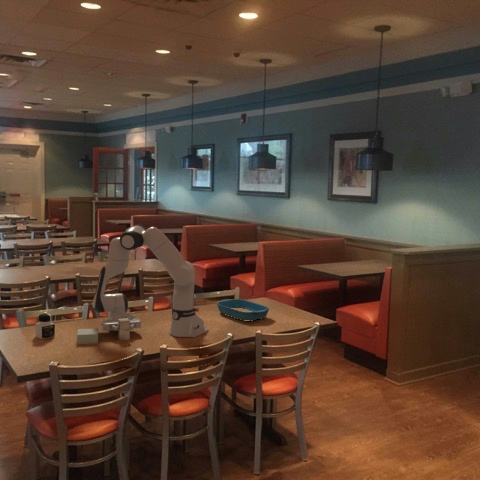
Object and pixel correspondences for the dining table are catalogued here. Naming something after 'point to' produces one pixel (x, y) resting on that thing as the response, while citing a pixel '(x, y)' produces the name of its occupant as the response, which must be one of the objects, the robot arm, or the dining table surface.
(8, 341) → the dining table surface
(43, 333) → the medicine bottle
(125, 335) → the ash block
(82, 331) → the riser block
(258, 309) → the casserole dish
